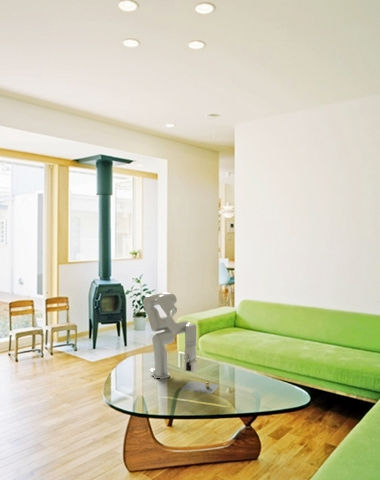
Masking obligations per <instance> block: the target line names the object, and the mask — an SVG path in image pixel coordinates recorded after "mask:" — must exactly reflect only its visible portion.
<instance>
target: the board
mask: <svg viewBox="0 0 380 480" xmlns="http://www.w3.org/2000/svg"><path fill="white" fill-rule="evenodd" d="M205 383H206V382H199V381H193V380H190V381H188V382H187V383H186V384H185V385H183V387H182V388H181V390H183V391H190V392H197V393H203V394H210V395H211V394H214V392H215V391H216V390H217V389H218V388H219V387H220V386H221V385H220V384H214V383H209V385H210V388H209V389H206V384H205Z"/></svg>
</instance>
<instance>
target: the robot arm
mask: <svg viewBox="0 0 380 480" xmlns="http://www.w3.org/2000/svg"><path fill="white" fill-rule="evenodd" d="M142 302H143V308H144V310H145V313H146V315H147V319H148V321H149V326H150V329H151V330H152V332H158V333H155V334H154V335H152V339H151V340H152V345H153V357H154V368H150V373H152V377H153V376H154V377H155V378H154V377H153V378H154V379H156V378H160V379H159V380H163V379H168V378H169V377H170V376H171V373H170V372H169V368H168V367H169V366H168V361H169V360H168V350H167V347H165V346H167V345H171V344H173V343H174V342H175V340H176V335H181V334H184V341H185V342H184V345H185V346H184V356H183V357H184V362H186V370H187V371H186V372H188V371H191V365H190V364H191V361H192V360H196V358H197V357H196V356H197V325H196V324H195V323H192V322H189V321H187V320H184V321H179V322H176V321H175V320H174V318H173V317H174V316H175V315H176V314H177V313H178V308H177V306H176V305H175V304H176V303H177V296H176V295H175V294H174V293H172V292H159V293H152V294H148V295H146V296H145V297H144V299H143V301H142ZM155 306H159V307H160V308H161V309H162V310H163V312H164V313H165V315H166V316H160V312H159V309H157V308H156V307H155ZM188 359H190V360H188ZM188 361H189V362H188Z"/></svg>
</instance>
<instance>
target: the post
mask: <svg viewBox="0 0 380 480" xmlns="http://www.w3.org/2000/svg"><path fill="white" fill-rule="evenodd" d="M204 383H205V384H206V389H209V388H210V385H209V384H210V382H209V381H208V380H207V381H206V382H204Z"/></svg>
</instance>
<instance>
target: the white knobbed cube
mask: <svg viewBox="0 0 380 480" xmlns="http://www.w3.org/2000/svg"><path fill="white" fill-rule="evenodd" d="M188 360H190V359H188ZM188 362H189V361H188ZM183 364H184V366H183V369H184V372H188V373H195V371H197V370H198V360H197V359H195V360H192V361H191V364H190V365H191V371H187V370H186V362H185V361H184V362H183Z"/></svg>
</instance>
